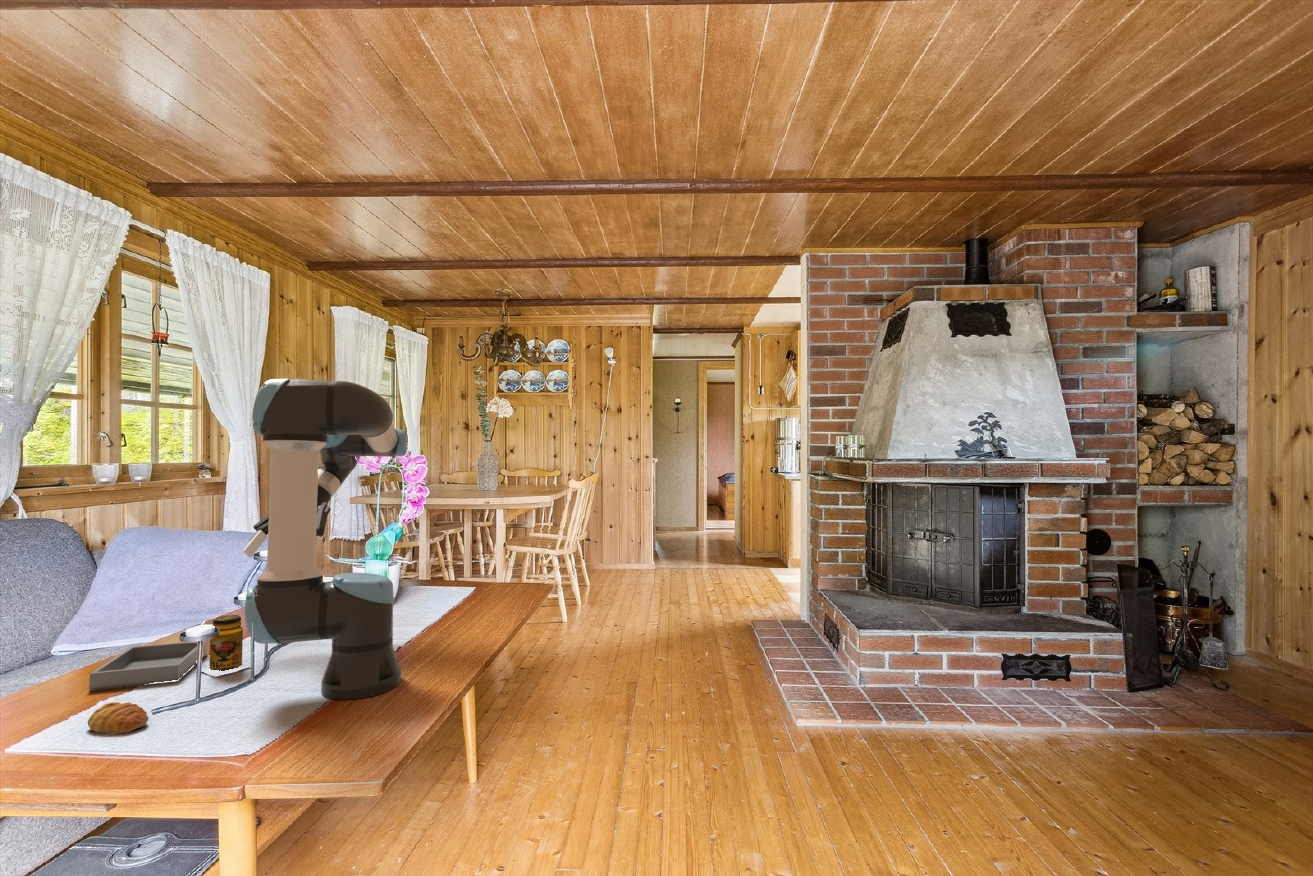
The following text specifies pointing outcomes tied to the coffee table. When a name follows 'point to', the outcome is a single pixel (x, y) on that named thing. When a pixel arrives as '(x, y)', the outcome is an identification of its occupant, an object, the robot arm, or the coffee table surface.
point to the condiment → (226, 643)
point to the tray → (146, 665)
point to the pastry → (117, 718)
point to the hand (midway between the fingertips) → (268, 555)
